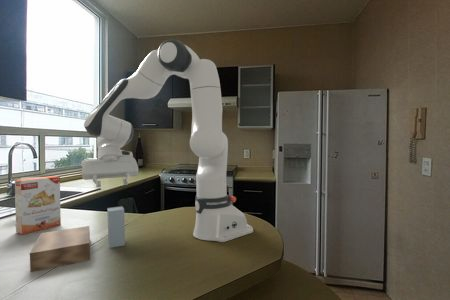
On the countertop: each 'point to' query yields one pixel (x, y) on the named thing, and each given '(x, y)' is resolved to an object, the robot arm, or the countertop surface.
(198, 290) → the countertop surface
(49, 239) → the walnut wood block
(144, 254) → the countertop surface
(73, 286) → the countertop surface
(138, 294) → the countertop surface
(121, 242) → the block
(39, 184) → the cracker box
